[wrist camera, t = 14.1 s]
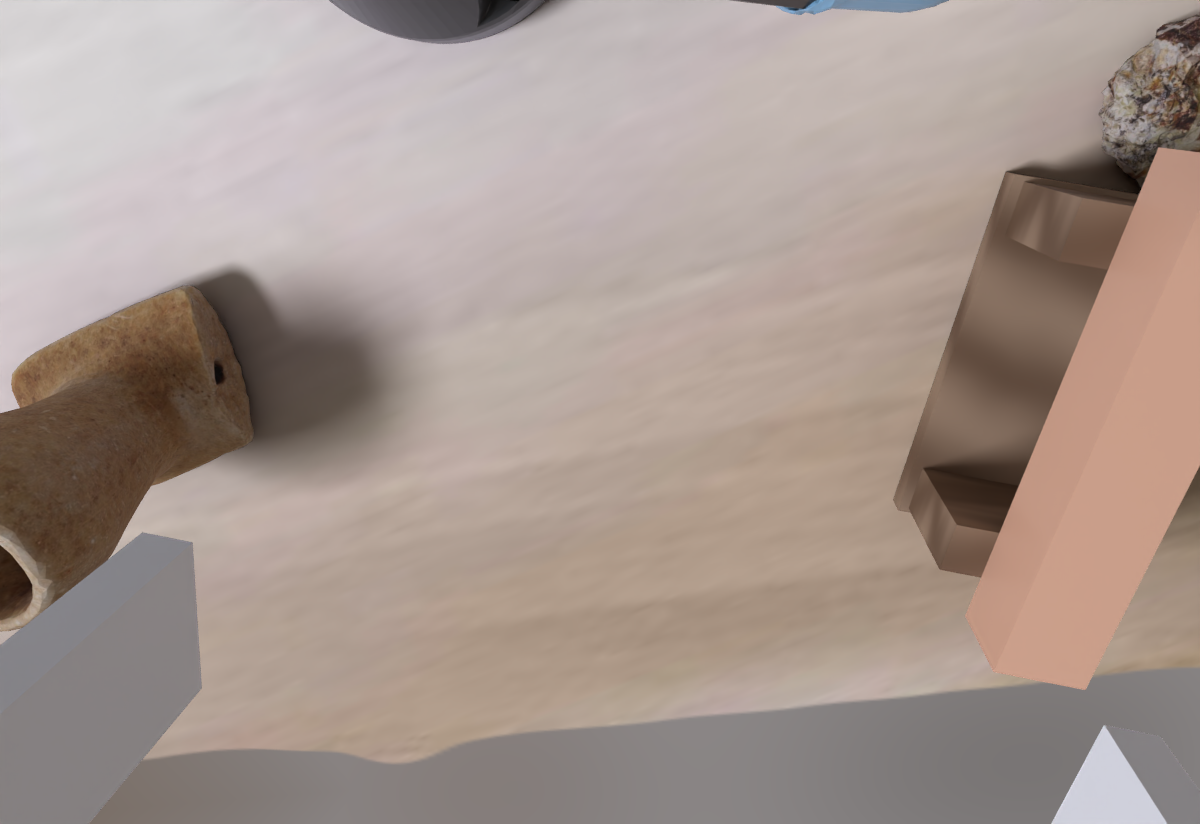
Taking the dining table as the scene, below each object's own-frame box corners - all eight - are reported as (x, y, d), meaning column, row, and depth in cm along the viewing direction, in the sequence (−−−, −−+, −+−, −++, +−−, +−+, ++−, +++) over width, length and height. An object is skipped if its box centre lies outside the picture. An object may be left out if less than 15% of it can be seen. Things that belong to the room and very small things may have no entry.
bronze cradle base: (1005, 171, 37) (1072, 189, 31) (1199, 204, 37) (1309, 229, 30) (893, 499, 44) (927, 571, 38) (1054, 530, 44) (1117, 608, 37)
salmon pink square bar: (1158, 147, 30) (1223, 155, 26) (1266, 165, 29) (1347, 175, 26) (965, 615, 38) (993, 671, 35) (1047, 631, 38) (1085, 689, 34)
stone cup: (118, 521, 51) (-96, 680, 37) (9, 357, 47) (-273, 466, 34) (313, 455, 48) (155, 604, 34) (211, 272, 44) (-12, 355, 30)
